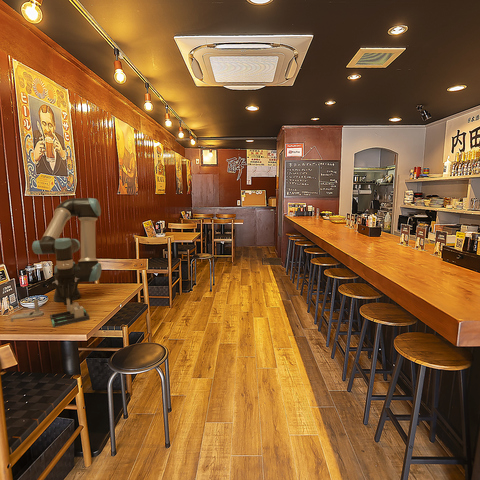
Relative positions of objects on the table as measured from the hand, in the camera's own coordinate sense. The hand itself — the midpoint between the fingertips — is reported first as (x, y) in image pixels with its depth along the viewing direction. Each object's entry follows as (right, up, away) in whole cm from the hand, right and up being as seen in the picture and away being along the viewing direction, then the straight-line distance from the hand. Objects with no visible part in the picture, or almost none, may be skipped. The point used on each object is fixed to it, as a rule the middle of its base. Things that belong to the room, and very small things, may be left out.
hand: (68, 310), depth 164 cm
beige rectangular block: (+2, -3, +2) cm, 4 cm away
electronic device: (-22, -5, 0) cm, 23 cm away
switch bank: (+2, -5, -3) cm, 6 cm away
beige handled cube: (+8, -3, -4) cm, 9 cm away
